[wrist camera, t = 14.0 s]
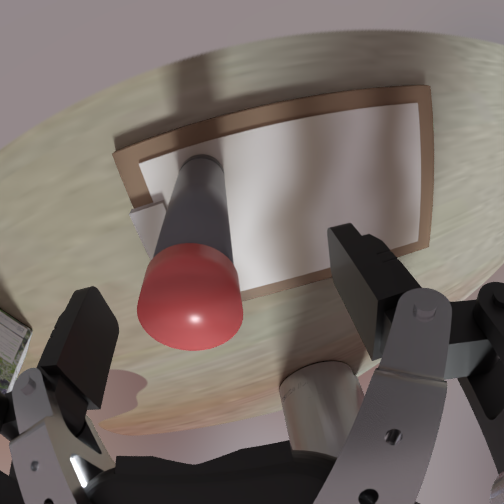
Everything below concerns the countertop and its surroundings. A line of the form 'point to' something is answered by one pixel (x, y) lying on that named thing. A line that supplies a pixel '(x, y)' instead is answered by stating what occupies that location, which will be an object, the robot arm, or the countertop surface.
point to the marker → (193, 265)
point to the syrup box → (12, 349)
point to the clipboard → (300, 179)
